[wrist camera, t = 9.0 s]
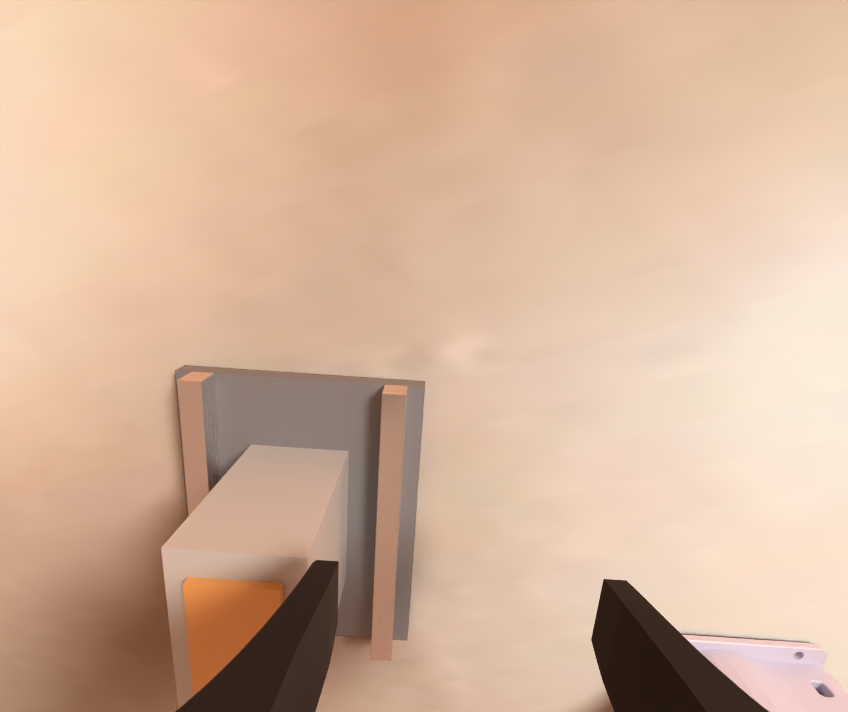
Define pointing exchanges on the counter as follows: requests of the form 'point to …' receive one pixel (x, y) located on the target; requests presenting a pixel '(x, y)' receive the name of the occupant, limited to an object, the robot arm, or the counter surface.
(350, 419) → the rail mount
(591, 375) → the counter surface
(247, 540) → the module block
